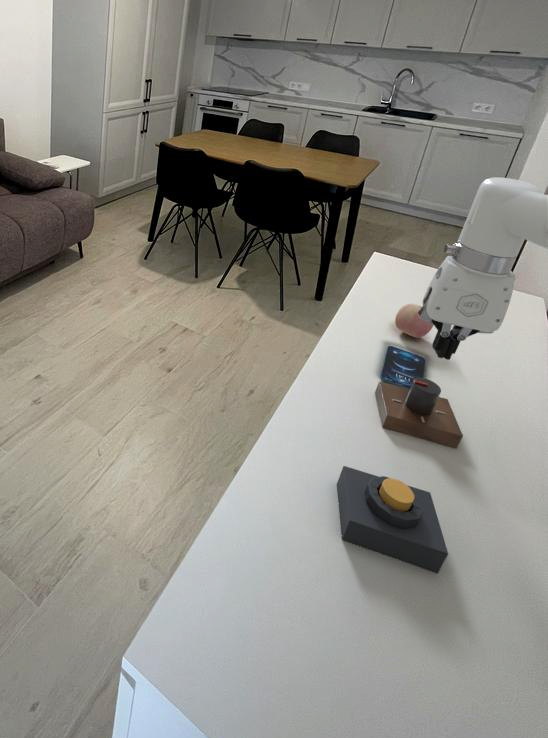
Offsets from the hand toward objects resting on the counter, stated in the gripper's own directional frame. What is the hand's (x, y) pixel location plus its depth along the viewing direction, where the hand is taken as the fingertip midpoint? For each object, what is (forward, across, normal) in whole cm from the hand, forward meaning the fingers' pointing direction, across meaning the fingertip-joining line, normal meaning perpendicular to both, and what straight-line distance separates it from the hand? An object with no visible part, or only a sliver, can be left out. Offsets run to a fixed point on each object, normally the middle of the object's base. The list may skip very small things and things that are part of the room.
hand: (441, 353), depth 84 cm
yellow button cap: (+12, -8, -23) cm, 27 cm away
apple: (+17, +7, +35) cm, 40 cm away
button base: (+17, -8, -23) cm, 30 cm away
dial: (+14, +1, +4) cm, 15 cm away
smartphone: (+17, +3, +20) cm, 26 cm away
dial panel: (+17, +2, +4) cm, 18 cm away
